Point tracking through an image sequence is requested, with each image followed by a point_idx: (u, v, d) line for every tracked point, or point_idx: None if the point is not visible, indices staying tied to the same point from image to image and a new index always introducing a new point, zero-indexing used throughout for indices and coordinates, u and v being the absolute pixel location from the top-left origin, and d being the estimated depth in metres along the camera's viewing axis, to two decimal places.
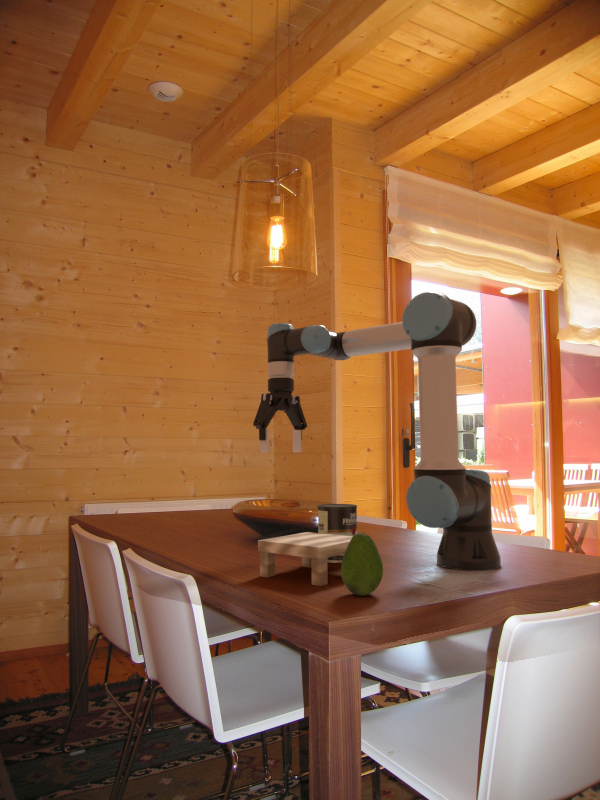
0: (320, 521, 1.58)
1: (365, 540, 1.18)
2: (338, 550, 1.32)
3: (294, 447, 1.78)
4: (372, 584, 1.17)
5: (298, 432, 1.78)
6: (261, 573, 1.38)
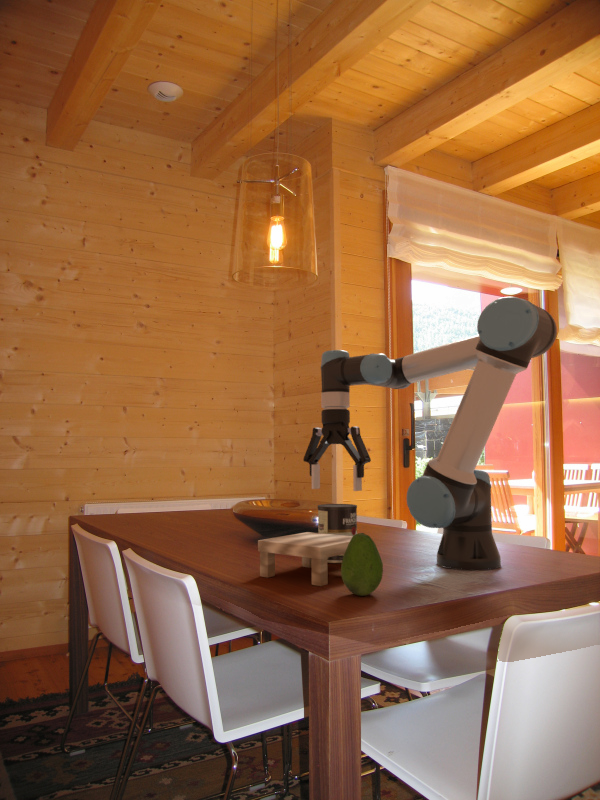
0: (320, 521, 1.58)
1: (365, 540, 1.18)
2: (338, 550, 1.32)
3: None
4: (372, 584, 1.17)
5: None
6: (261, 573, 1.38)
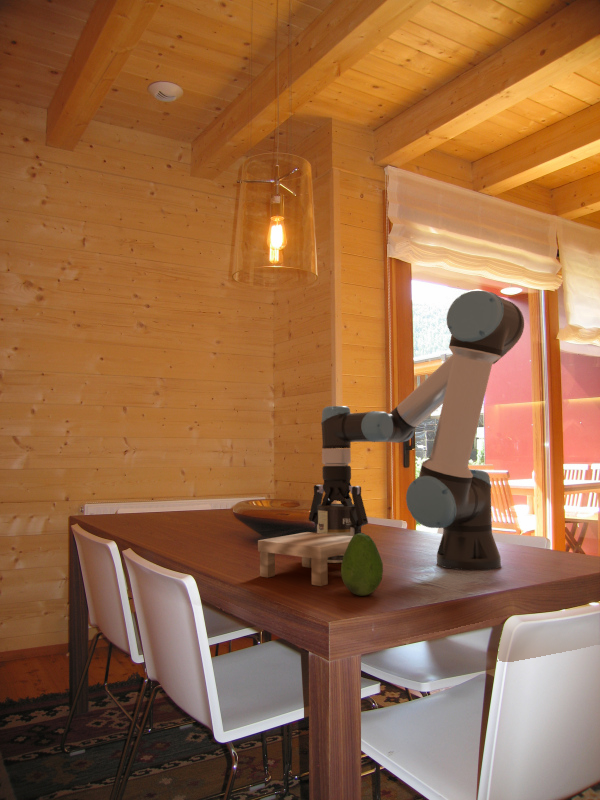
0: (320, 521, 1.58)
1: (365, 540, 1.18)
2: (338, 550, 1.32)
3: None
4: (372, 584, 1.17)
5: None
6: (261, 573, 1.38)
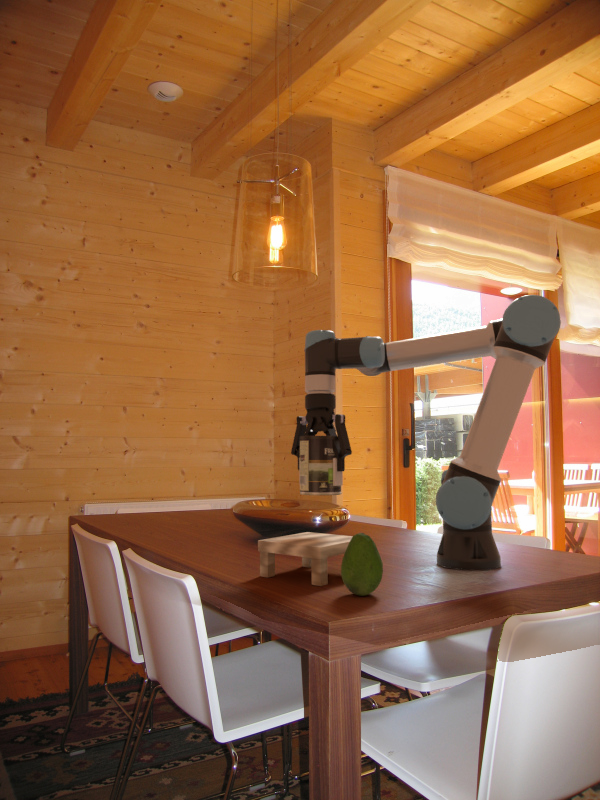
0: (301, 452, 1.47)
1: (365, 540, 1.18)
2: (338, 550, 1.32)
3: None
4: (372, 584, 1.17)
5: None
6: (261, 573, 1.38)
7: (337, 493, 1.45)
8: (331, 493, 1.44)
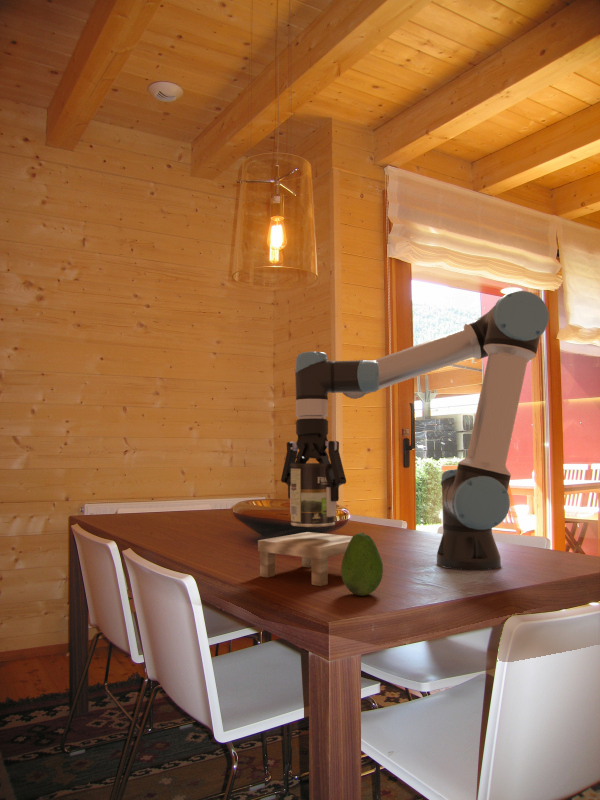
0: (292, 480, 1.40)
1: (365, 540, 1.18)
2: (338, 550, 1.32)
3: None
4: (372, 584, 1.17)
5: None
6: (261, 573, 1.38)
7: (331, 524, 1.38)
8: (324, 524, 1.36)
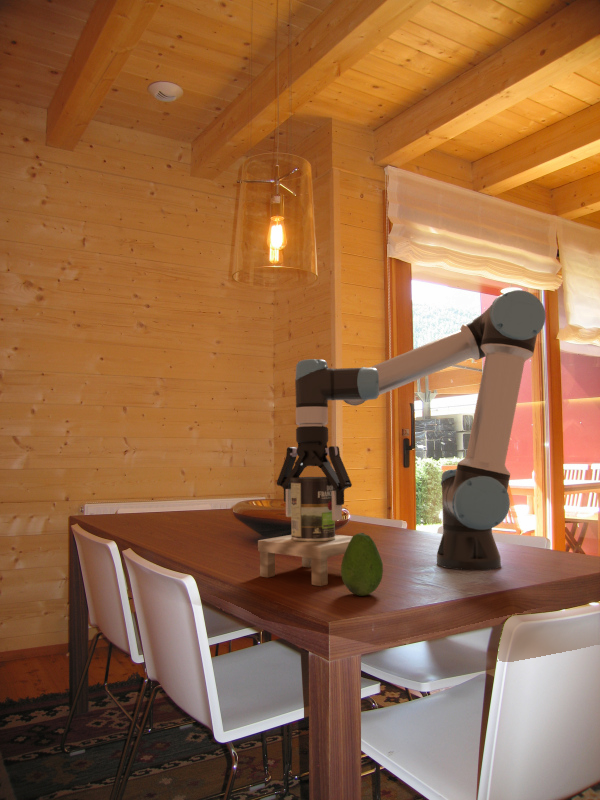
0: (293, 495, 1.39)
1: (365, 540, 1.18)
2: (338, 550, 1.32)
3: None
4: (372, 584, 1.17)
5: None
6: (261, 573, 1.38)
7: (331, 538, 1.38)
8: (325, 539, 1.36)
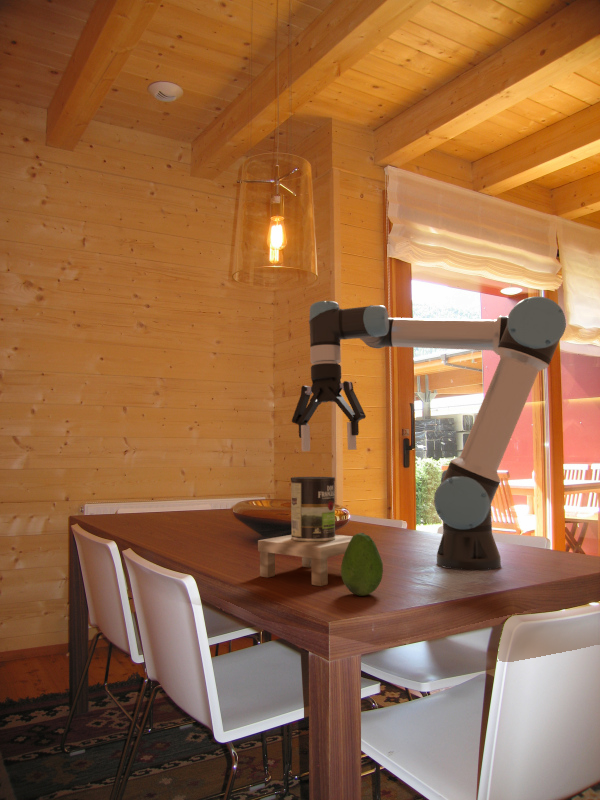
0: (293, 495, 1.39)
1: (365, 540, 1.18)
2: (338, 550, 1.32)
3: None
4: (372, 584, 1.17)
5: None
6: (261, 573, 1.38)
7: (331, 539, 1.38)
8: (325, 539, 1.36)
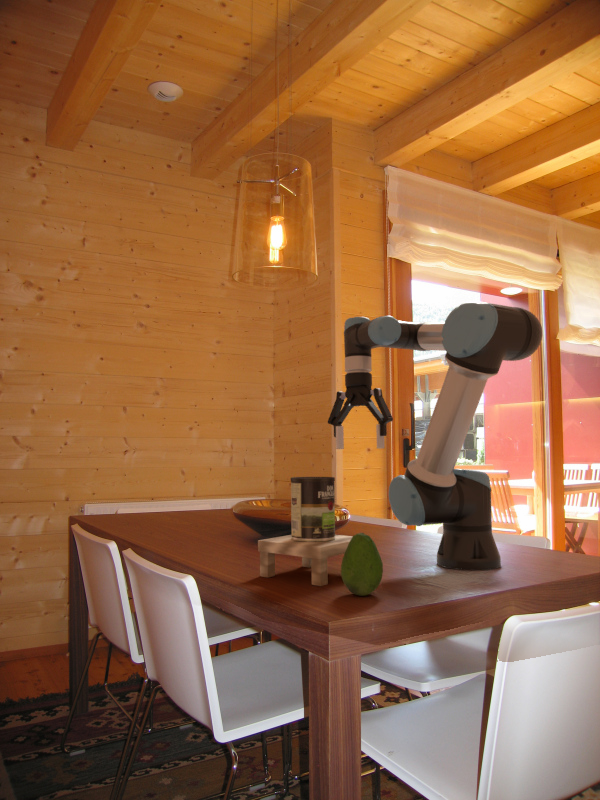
0: (293, 495, 1.39)
1: (365, 540, 1.18)
2: (338, 550, 1.32)
3: None
4: (372, 584, 1.17)
5: None
6: (261, 573, 1.38)
7: (331, 539, 1.38)
8: (325, 539, 1.36)
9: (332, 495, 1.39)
